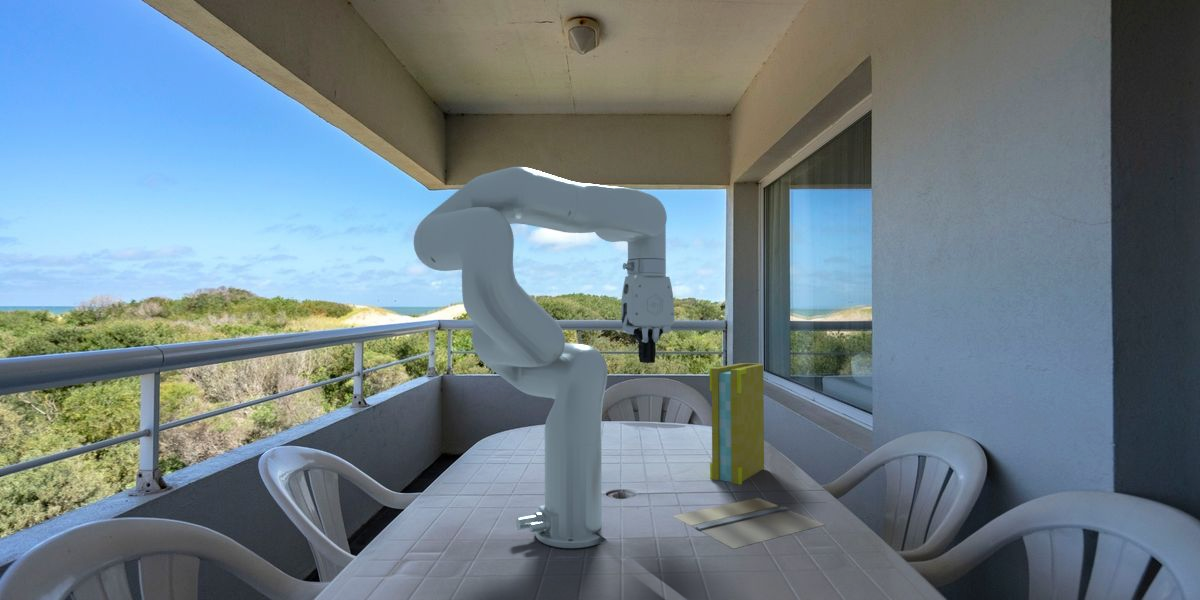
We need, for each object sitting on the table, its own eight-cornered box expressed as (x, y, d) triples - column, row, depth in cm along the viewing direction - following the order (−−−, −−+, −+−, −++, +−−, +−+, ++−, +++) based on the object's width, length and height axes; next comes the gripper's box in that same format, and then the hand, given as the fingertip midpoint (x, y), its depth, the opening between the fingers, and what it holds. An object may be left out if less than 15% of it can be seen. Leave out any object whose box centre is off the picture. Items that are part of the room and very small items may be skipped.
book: (740, 491, 115) (739, 370, 115) (710, 485, 119) (709, 368, 119) (769, 473, 128) (768, 364, 129) (742, 468, 132) (741, 362, 133)
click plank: (690, 534, 93) (690, 525, 93) (656, 516, 101) (656, 507, 101) (778, 513, 102) (778, 505, 102) (740, 498, 111) (740, 490, 111)
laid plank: (733, 558, 83) (733, 546, 83) (692, 535, 92) (691, 524, 92) (825, 533, 93) (825, 522, 93) (780, 514, 102) (779, 504, 102)
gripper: (624, 266, 104) (624, 365, 103) (688, 269, 111) (689, 362, 110) (604, 269, 110) (604, 362, 110) (666, 272, 117) (667, 359, 117)
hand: (647, 362), depth 110 cm, fingers closed
